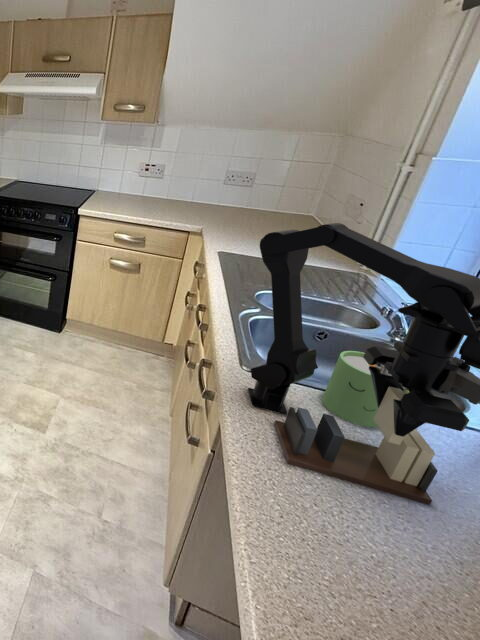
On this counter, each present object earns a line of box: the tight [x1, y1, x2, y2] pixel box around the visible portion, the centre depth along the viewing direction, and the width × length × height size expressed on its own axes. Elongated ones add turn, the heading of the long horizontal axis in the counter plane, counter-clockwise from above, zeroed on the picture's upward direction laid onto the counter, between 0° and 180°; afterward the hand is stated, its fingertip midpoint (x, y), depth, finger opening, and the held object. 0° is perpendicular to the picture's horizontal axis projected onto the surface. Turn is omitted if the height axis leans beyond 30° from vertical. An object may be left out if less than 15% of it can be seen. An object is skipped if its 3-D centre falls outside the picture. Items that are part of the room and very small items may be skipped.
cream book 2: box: [376, 434, 419, 482], centre depth 74 cm, size 6×2×8 cm, turn 156°
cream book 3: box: [403, 428, 436, 486], centre depth 73 cm, size 6×2×8 cm, turn 156°
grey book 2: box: [314, 412, 346, 463], centre depth 78 cm, size 6×2×6 cm, turn 156°
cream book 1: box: [373, 387, 405, 445], centre depth 72 cm, size 6×2×8 cm, turn 156°
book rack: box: [273, 406, 439, 506], centre depth 77 cm, size 11×20×6 cm, turn 66°
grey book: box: [295, 407, 317, 455], centre depth 79 cm, size 6×2×6 cm, turn 156°
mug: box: [321, 350, 410, 428], centre depth 88 cm, size 13×10×12 cm
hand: (390, 423), depth 73 cm, fingers closed on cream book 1, 6 cm apart
